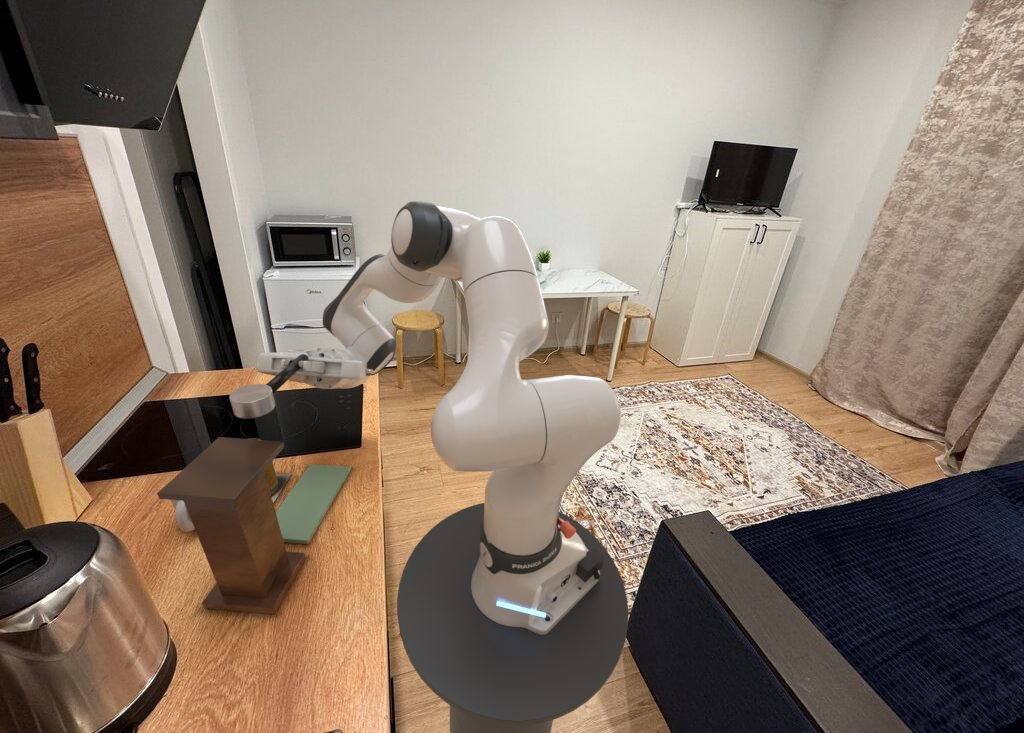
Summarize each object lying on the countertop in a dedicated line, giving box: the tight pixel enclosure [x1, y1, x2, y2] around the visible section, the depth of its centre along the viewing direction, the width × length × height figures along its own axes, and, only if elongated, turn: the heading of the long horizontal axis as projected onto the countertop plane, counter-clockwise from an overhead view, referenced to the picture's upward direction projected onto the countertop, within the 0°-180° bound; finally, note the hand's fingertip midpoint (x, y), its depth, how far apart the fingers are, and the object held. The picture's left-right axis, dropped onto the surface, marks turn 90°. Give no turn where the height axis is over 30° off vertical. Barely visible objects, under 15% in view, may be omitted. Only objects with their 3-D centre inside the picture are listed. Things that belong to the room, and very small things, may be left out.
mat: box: [275, 463, 352, 545], centre depth 84 cm, size 20×9×1 cm, turn 178°
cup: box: [170, 500, 195, 533], centre depth 77 cm, size 7×10×9 cm
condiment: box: [249, 437, 292, 504], centre depth 84 cm, size 7×8×12 cm
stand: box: [156, 436, 306, 615], centre depth 64 cm, size 12×11×24 cm
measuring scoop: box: [229, 354, 309, 420], centre depth 70 cm, size 19×6×3 cm, turn 178°
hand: (293, 364), depth 75 cm, fingers closed on measuring scoop, 2 cm apart
